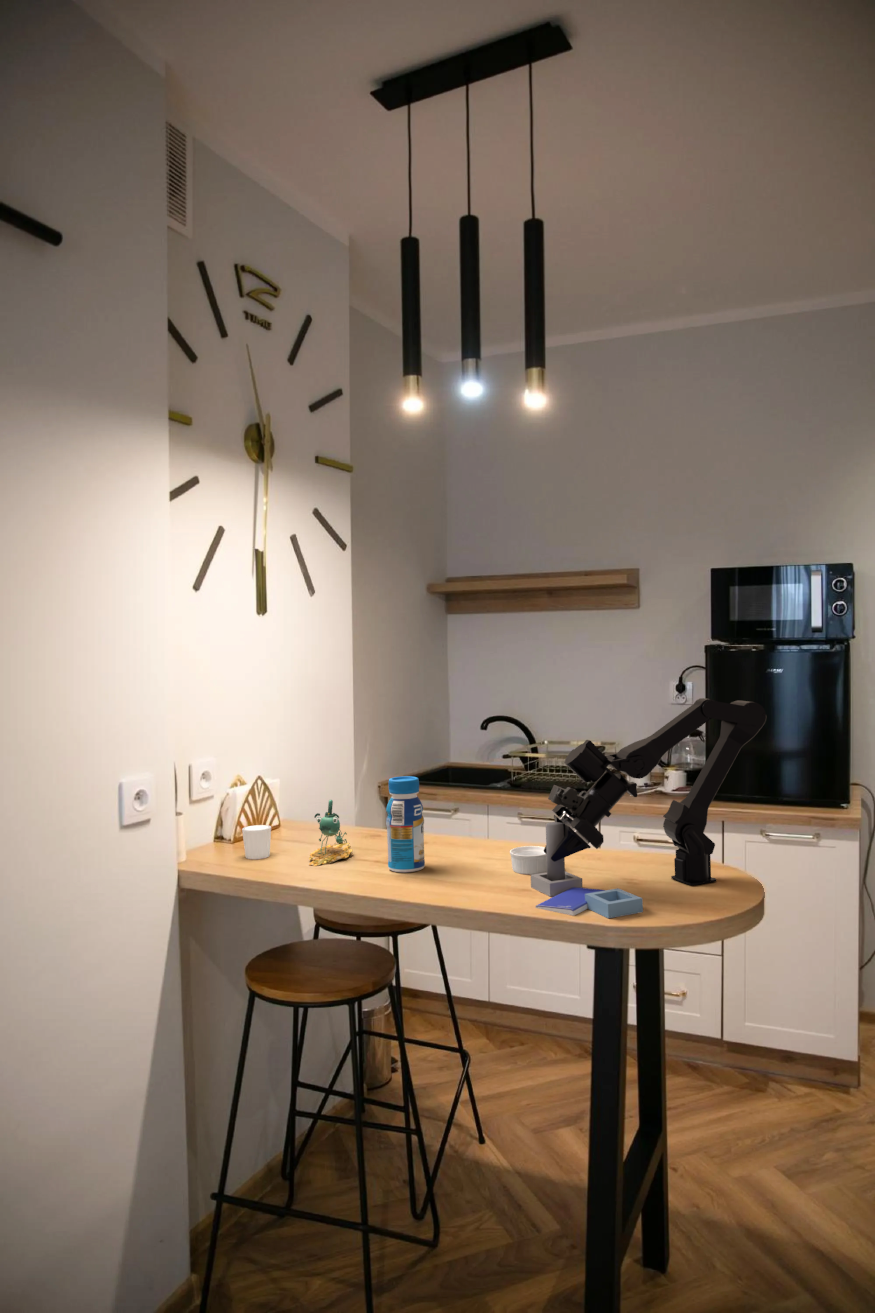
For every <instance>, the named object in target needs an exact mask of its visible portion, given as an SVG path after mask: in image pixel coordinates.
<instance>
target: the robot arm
mask: <svg viewBox="0 0 875 1313" xmlns="http://www.w3.org/2000/svg"><path fill="white" fill-rule="evenodd" d="M712 719H714V720H720V722H721V723H720V734H719V738H718V740H717V741H716V743H715V745H714V747H713V749H712V750H711V752H710V753H709V756H708V757H707V759H706V761H705V763H704V765H703V766H702V768H701V770H700V773H699V774H698V776H697V778H696V780H695V781H694V783H693V784H692V787H691V788H690V790H689V792H688V794H687V795H686V797H685V798H683V799H682V800H681V801H680V802H679V801H678V800H675V799H673V800H672V801H671V803H670V805H669V808H668V810H667V811H666V813H664V814H663V818H664V821H663V824H662V828H663V830H664V833H665V835H666V836H667V837H668V838H669V839H670V840H671V841H672V843H673V846H674V847H677V848H678V849H675V858H674V860H673V861H674V862H673V863H674V875H671V876H670V877H671V879H672V880H674V881H677V882H680V883H682V884H686V885H687V886H688V885H689V886H697V885H699V886H700V885H703V884H704V885H705V884H709V883H710V884H711V883H716V882H717V878H716V877H712V871H711V870H712V869H711V865H712V863H711V860H712V859H711V855H712V854H714V850H715V847H716V843H715V842H714V841H712V839H711V838H710V837H708V836H707V835H706V834H705V833H704V832H705V830H706V827H707V825H708V814H709V808H710V806H711V804H712V802H713V800H714V798H715V797H716V795H717V793H718V791H719V789H720V788H721V785H722V784H723V782H724V780H725V779H726V777H727V774H728V773H729V771H730V769H731V767H732V766H733V764H734V762H735V760H736V758H737V756H738V754H739V753H740V751H741V749H742V748H743V747H744V746H745V745H746V744H747V743H748V742H750V741H751V740H752V739H754V738H755V736H756V735H757V734H758V733H759V732H760V731H761V729H762V728H763V726H764V725H765V724H766V722H767V713H766V710H765V709H764V707H763V705H761V703H757V702H754V701H750V700H749V701H748V700H747V701H746V700H738V699H737V700H735V701H731V702H730V703H728V702H722V701H716V700H714V699H712V698H711V699H710V698H705V697H702V698H698V699H696V700H695V701H694V703H693V704H691V705H690V706H689V707H687V708H686V709H684V710H683V711H681V713H679V714H678V715H677V716H675V717H674V718H672V719H671V720H670V721H669V722H667V723H666V724H664V725H663V726H661V727H660V728H659V729H658V730H657V731H655V732H654V733H652V734H651V735H650V736H647V737H644V738H643V739H640V740H637V741H634V742H632V743H630V744H628V745H627V746H624V747H622V748H620V749H619V750H618V751H617V753H612V754H611V753H610V754H607V755H605V754H604V753H603V752H602V751H601V750H599V749H598V748H597V746H596V745H595V744H594V743H593V742H592V740H590V739H586V740H585V741H584V742H583V743H581V744H579V745H577V746H576V747H575V748H573V749H571V751H570V752H569V753H568V754H567V756H566V758H565V759H564V765H565V766H567V767H568V768H569V769H570V770H571V771H572V772H573V773H574V774H575V775H576V776H577V777H579V779H580V780H582V782H584V783H589V782H590V783H594V784H593V785H592V786H591V787H590V788H589V789H588V790H587V791H586V790H581V792H579V794H578V790H576V789H575V788H571V787H569V786H568V787H566V788H563V787H562V786H560V785H559V786H558V785H555V784H553V786H552V789H551V791H550V793H549V796H548V798H547V799H548V800H549V801H550V802H551V803H553V804H556V805H555V807H553V809H552V810H551V811H552V813H554V815H553V818H554V822H560V823H563V826H564V838H563V839H562V841H561V842H560V844H559V845H558V847H557V848H556V849H555V851H554V853H553V854H552V856H551V860H553V861H554V862H555V861H558V860H560V859H562V858H567V857H568V856H571V855H574V854H576V853H579V852H581V851H584V850H587V849H591V848H592V847H594V848H595V849H596V850H598V849H599V848H600V846H602V845H603V843H604V834H602V833H601V832H600V831H599V829H598V828H597V826H598V824H600V822H601V821H602V820H603V819H604V818H605V817H607V818H610V817H611V815H612V812H611V810H612V809H613V808H614V807H615V805H617V804H618V802H619V801H620V800H621V799H622V797H624V796H625V794H626V793H627V794H629V795H630V796H632V797H633V798H637V797H638V790H637V786H638V783H637V782H635V781H629V780H627V778H625V777H624V775H626V776H627V777H631V778H632V779H638V780H639V779H644V778H645V777H647V776H648V775H650V773H651V772H652V771H653V770H654V769H655V768H656V767H657V766H658V764H659V763H660V762H661V760H662V758H663V756H665V755H666V753H667V752H668V751H670V750H671V749H673V748H674V747H676V746H677V745H678V744H679V743H680V742H682V741H683V740H684V739H686V738H687V737H688V736H690V735H691V734H692V733H694V732H695V731H697V730H698V729H699V728H700V727H702V726H703V725H705V724H706V723H708V722H709V721H710V720H712ZM608 767H609V768H611V769H614V770H615V771H619V772H620V773H613V771H611V770H610V769H609V768H608ZM621 773H622V774H624V775H622V774H621ZM590 844H591V845H590ZM591 846H592V847H591ZM544 847H545V849H544V852H545V853H546V854H547V852H546V846H544Z"/></svg>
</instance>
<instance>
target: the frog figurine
mask: <svg viewBox="0 0 875 1313" xmlns="http://www.w3.org/2000/svg"><path fill="white" fill-rule="evenodd" d="M333 804H334V801H333V799H329V800H328V805H327V811H326V812H325V813H324V816H323V817H321V813H319V812H317V813H316V814H315V815H314V819H316V821H317V824H319V826H318V829H319V830H320V833H321V836H320V838H318V841H319V842H321V846H320V847H319V848H317V849H316V850H314V851H312V852H310V853H309V857H308V860H310V861H311V860H312V861H311V862H309V866H313V867H317V866H321V865H328V864H329V865H330V864H333V863H334V862H336V861H339V860H342V859H343V860H344V859H348V858H349V856H350V855H351V853H353V849H352V848H351V845H350V843H349V842H348V841H347V838H344V836H345V835H347V834H348V833H347V832H346V831H344V833H343V832H342V831H341V823H340V820H339V819H340V816H339V814H338V813H335V812H333ZM323 836H325V837H324V839H323V840H322V837H323ZM333 836H334V839H335V843H334V844H333V845H331V844H328V845H327V843H328V840H329V837H333ZM343 838H344V839H343ZM325 840H326V841H325ZM324 841H325V846H323V842H324Z"/></svg>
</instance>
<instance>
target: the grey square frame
mask: <svg viewBox="0 0 875 1313" xmlns="http://www.w3.org/2000/svg"><path fill="white" fill-rule="evenodd" d="M583 886H584V885H583V878H582V877H580V876H578V875H575V874H572V873H570V872H568V871H566V870H565V879H563V880H557V881H550V880H548V879H547V872H545V873H540V874H533V875H530V887H531V889H534V890H536V891H538V892H540V893H542V894H544V895H546V896H548V897H554V896H556V895H558V894H560V893H562V892H564V891H566V890H568V889H570V888H573V887H576V888H584V887H583Z"/></svg>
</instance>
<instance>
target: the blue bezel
mask: <svg viewBox="0 0 875 1313" xmlns="http://www.w3.org/2000/svg"><path fill="white" fill-rule="evenodd" d="M604 890H605V891H599V892H593V893H587V894H585V901H587V905H588V908H587V909H588V910H590V911H592V912H593V913H596V914H598V915H600V916H602V917H604V918H606V919H612V918H618V917H624V916H629V915H634V914H640V913H643V912H644V908H643V907H644V906H643V905H644V902H643V897H640V896H638V895H636V894H633V893H630V892H629V891H626V890H623V889H621V888H612V889H607V890H606V889H604ZM587 909H586V910H587Z"/></svg>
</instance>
